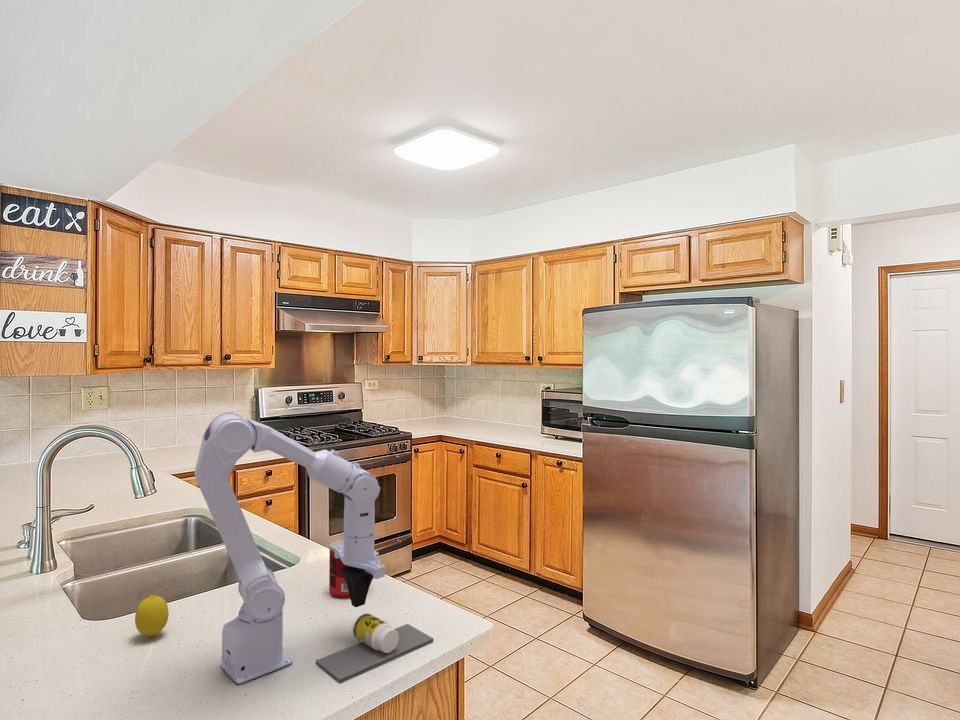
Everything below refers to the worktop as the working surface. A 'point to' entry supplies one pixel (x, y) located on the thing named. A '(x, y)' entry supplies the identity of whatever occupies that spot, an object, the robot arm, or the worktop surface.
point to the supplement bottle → (375, 633)
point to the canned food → (337, 573)
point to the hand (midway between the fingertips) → (358, 604)
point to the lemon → (151, 615)
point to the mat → (370, 655)
